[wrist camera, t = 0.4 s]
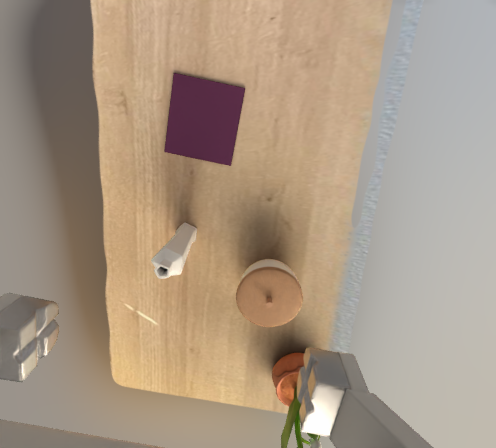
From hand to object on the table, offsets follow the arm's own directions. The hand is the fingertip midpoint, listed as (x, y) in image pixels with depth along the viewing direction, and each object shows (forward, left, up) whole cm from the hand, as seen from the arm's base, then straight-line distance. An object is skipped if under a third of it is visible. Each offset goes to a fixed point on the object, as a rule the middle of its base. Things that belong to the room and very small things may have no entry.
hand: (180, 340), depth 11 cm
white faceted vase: (+15, -8, -46) cm, 49 cm away
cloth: (-4, -8, -46) cm, 46 cm away
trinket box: (+20, +8, -46) cm, 51 cm away
